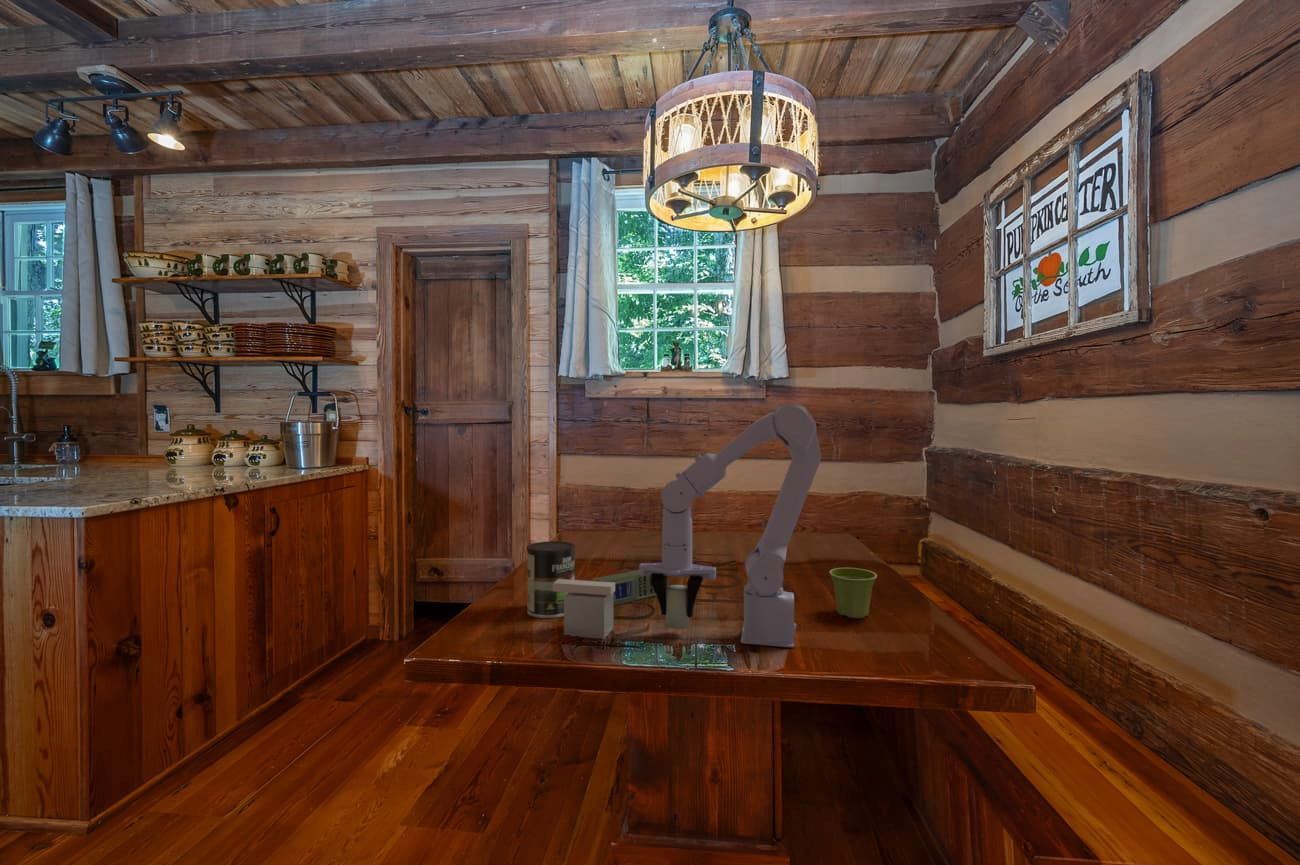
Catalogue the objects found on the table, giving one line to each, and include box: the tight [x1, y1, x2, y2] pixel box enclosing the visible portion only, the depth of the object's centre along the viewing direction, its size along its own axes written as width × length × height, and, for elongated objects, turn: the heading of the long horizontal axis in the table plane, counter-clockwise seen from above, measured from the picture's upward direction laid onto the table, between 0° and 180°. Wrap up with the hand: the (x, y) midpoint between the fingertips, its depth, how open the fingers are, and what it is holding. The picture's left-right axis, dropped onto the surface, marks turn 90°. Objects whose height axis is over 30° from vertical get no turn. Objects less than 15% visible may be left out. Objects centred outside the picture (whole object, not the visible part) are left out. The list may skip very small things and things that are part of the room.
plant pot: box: [829, 567, 878, 619], centre depth 119 cm, size 9×9×9 cm
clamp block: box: [563, 593, 615, 640], centre depth 109 cm, size 8×6×8 cm
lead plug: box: [665, 584, 690, 630], centre depth 107 cm, size 4×4×7 cm
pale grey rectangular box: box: [553, 579, 615, 595], centre depth 109 cm, size 12×3×2 cm, turn 77°
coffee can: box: [526, 540, 576, 619], centre depth 121 cm, size 10×10×14 cm
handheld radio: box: [591, 569, 669, 607], centre depth 127 cm, size 7×3×25 cm
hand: (677, 614), depth 107 cm, fingers closed on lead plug, 4 cm apart
